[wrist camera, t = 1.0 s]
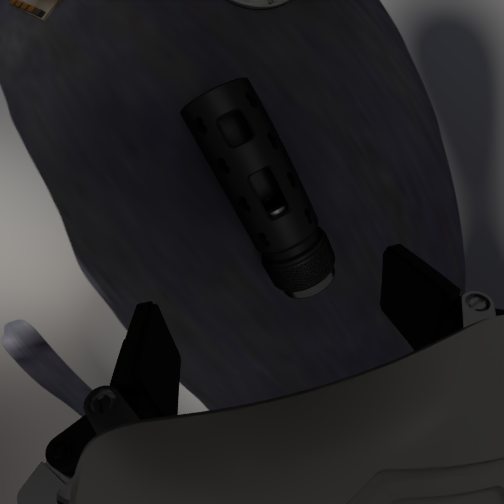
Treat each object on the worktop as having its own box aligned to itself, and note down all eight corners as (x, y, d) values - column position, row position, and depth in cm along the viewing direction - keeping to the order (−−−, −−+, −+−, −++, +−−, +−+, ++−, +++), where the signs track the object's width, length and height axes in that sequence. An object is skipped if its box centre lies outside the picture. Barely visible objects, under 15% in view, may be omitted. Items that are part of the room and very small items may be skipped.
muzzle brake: (244, 86, 34) (255, 68, 25) (323, 249, 45) (351, 278, 36) (182, 117, 35) (172, 109, 25) (272, 277, 46) (287, 313, 36)
